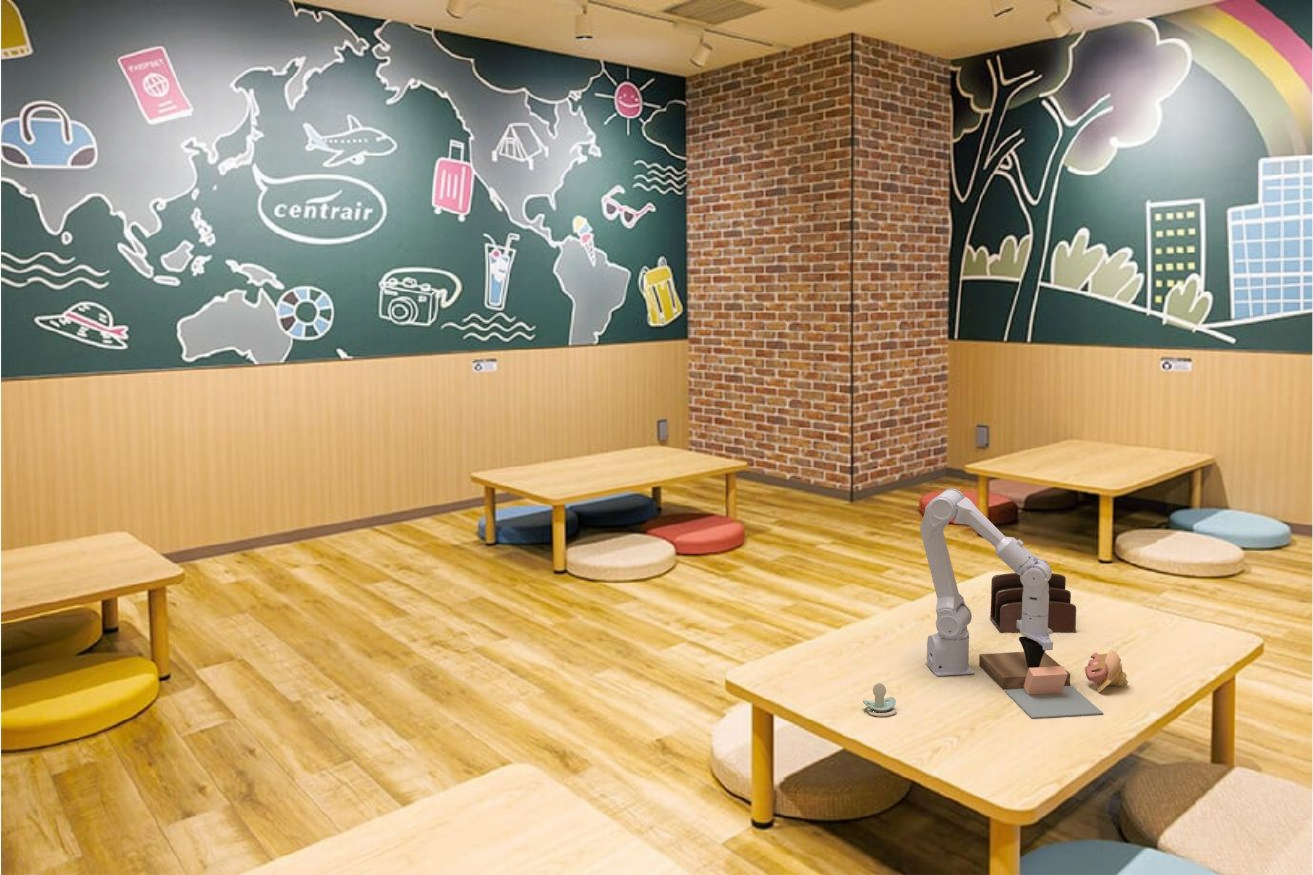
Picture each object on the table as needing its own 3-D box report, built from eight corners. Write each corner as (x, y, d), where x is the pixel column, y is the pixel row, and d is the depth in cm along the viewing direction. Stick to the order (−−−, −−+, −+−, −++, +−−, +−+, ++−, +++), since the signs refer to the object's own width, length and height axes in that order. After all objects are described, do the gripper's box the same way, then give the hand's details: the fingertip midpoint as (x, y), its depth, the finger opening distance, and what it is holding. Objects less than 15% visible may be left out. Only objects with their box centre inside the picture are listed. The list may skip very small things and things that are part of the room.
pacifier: (901, 716, 215) (891, 704, 220) (902, 690, 213) (891, 678, 219) (870, 720, 213) (860, 707, 219) (870, 693, 212) (860, 681, 218)
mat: (1031, 718, 211) (1031, 717, 211) (1004, 691, 225) (1004, 689, 225) (1103, 714, 212) (1103, 712, 212) (1071, 687, 226) (1072, 685, 226)
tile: (1023, 686, 224) (1027, 694, 222) (1028, 667, 221) (1033, 676, 219) (1057, 684, 224) (1061, 692, 222) (1062, 665, 221) (1067, 674, 219)
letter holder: (989, 620, 270) (991, 571, 268) (1063, 620, 269) (1065, 570, 266) (999, 633, 260) (1001, 583, 258) (1076, 633, 259) (1078, 582, 256)
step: (1002, 689, 226) (1003, 677, 225) (979, 665, 240) (979, 654, 239) (1069, 685, 227) (1070, 673, 226) (1042, 662, 241) (1042, 650, 240)
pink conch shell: (1120, 680, 230) (1144, 664, 223) (1107, 711, 225) (1131, 696, 217) (1085, 656, 232) (1107, 639, 225) (1072, 687, 227) (1094, 671, 219)
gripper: (1067, 622, 219) (1064, 679, 221) (1037, 601, 233) (1035, 655, 235) (1036, 624, 218) (1034, 681, 220) (1008, 602, 232) (1007, 656, 235)
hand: (1033, 668), depth 228 cm, fingers closed
